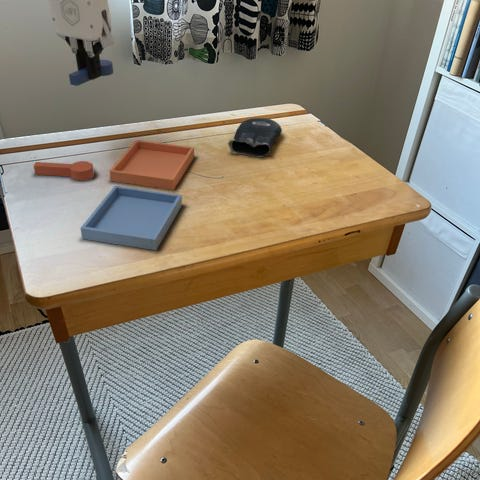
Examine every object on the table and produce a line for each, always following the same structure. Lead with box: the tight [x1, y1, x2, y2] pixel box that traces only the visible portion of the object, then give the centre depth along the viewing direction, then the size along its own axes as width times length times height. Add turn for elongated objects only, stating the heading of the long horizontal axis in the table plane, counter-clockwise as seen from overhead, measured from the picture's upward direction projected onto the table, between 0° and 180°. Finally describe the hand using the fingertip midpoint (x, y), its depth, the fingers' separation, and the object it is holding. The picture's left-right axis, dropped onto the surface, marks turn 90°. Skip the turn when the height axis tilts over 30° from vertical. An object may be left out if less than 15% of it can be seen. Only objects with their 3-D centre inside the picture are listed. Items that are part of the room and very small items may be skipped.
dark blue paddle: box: [68, 59, 114, 87], centre depth 98 cm, size 11×4×2 cm, turn 154°
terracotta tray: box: [108, 139, 195, 191], centre depth 99 cm, size 12×14×2 cm
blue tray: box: [79, 185, 183, 251], centre depth 85 cm, size 12×14×2 cm
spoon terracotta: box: [33, 160, 95, 181], centre depth 96 cm, size 11×4×2 cm, turn 88°
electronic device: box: [227, 117, 283, 158], centre depth 109 cm, size 9×6×15 cm
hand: (90, 76), depth 98 cm, fingers closed on dark blue paddle, 1 cm apart
